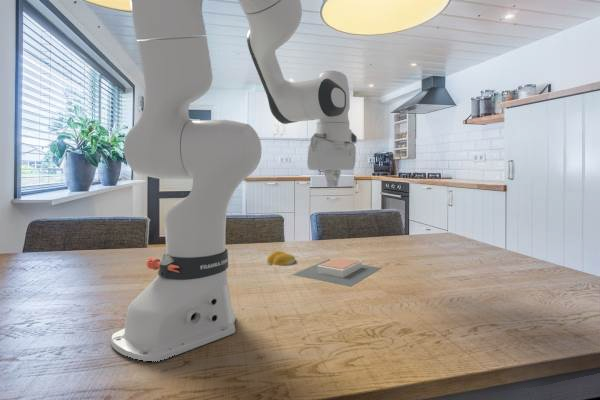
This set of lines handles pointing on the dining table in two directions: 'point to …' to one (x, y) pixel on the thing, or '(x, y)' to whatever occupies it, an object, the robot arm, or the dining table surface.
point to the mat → (346, 280)
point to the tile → (339, 267)
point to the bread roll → (280, 258)
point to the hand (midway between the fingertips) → (332, 186)
